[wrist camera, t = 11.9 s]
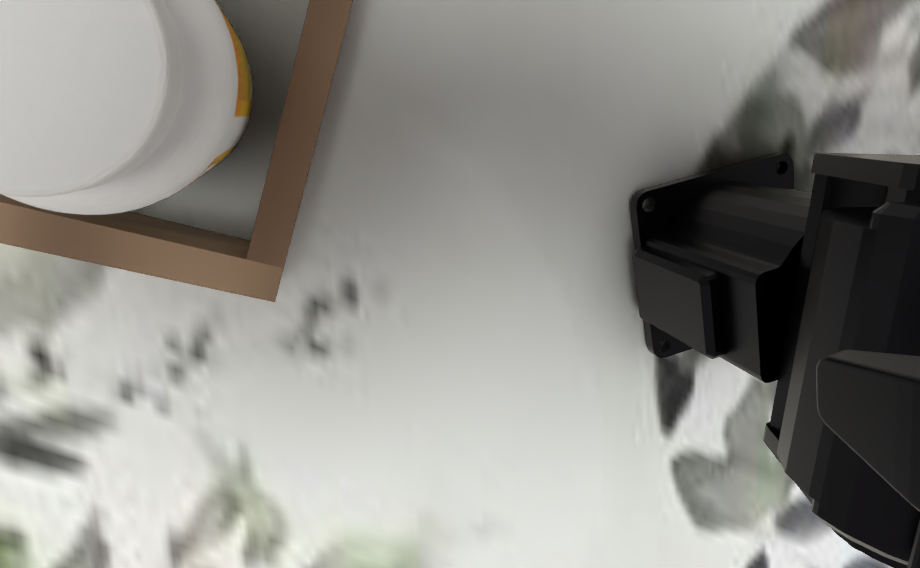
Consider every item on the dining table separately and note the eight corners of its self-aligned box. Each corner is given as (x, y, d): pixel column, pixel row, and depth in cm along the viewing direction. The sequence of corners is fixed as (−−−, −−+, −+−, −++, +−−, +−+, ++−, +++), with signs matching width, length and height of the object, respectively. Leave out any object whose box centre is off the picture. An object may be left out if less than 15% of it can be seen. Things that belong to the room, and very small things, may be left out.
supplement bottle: (92, -67, 16) (-160, -303, 7) (287, 48, 18) (287, -19, 9) (8, 119, 17) (-328, 126, 7) (205, 212, 18) (127, 306, 9)
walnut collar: (355, -30, 18) (366, -52, 15) (276, 279, 19) (274, 301, 17) (-31, -186, 15) (-91, -241, 12) (-85, 197, 16) (-147, 211, 14)
